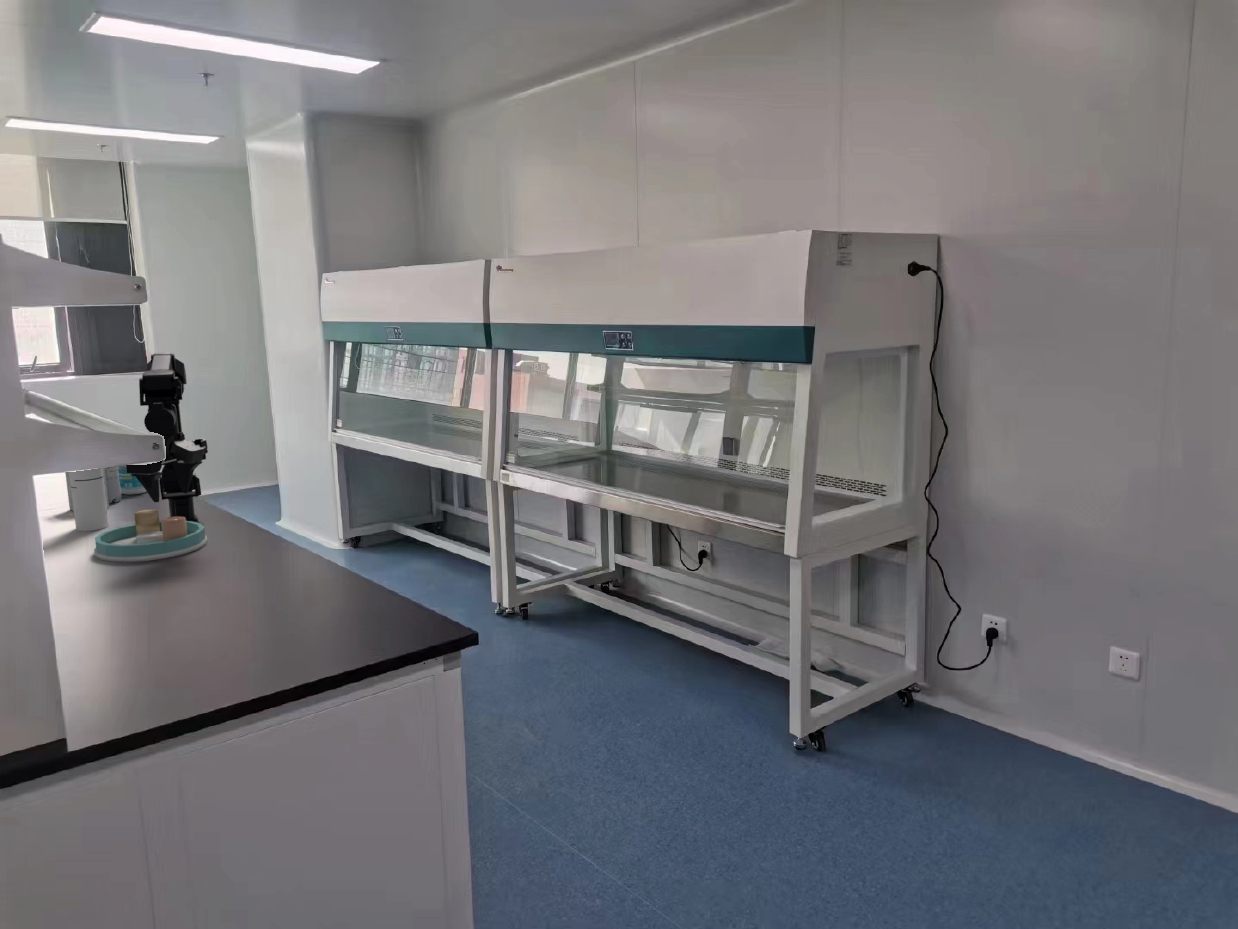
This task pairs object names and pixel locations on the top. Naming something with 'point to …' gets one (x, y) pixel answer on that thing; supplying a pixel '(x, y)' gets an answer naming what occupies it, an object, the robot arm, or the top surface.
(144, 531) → the wood cylinder
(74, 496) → the cylindrical container
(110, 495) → the bottle
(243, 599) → the top surface
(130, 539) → the groove tray
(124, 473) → the pill bottle
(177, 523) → the pinkish brown short cylinder
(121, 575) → the top surface
